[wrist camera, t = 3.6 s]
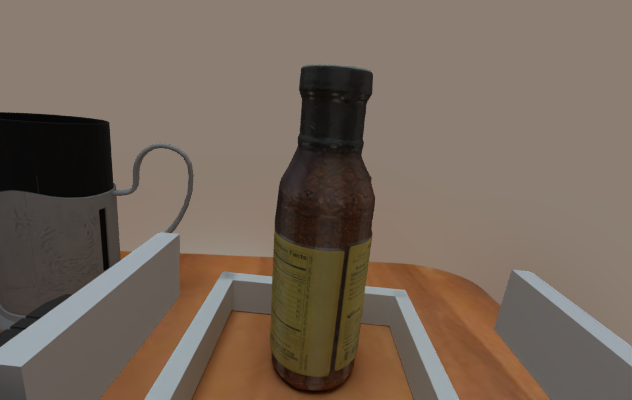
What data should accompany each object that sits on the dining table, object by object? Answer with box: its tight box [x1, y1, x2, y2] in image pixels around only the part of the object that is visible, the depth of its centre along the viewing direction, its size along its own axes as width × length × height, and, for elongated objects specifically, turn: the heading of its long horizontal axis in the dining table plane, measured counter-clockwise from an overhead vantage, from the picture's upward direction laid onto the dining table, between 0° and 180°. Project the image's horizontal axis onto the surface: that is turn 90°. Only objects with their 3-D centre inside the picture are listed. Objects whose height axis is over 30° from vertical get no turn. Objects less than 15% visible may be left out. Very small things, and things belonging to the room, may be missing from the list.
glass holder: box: [0, 112, 193, 331], centre depth 25 cm, size 9×14×15 cm, turn 106°
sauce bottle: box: [270, 65, 375, 391], centre depth 20 cm, size 7×6×20 cm
